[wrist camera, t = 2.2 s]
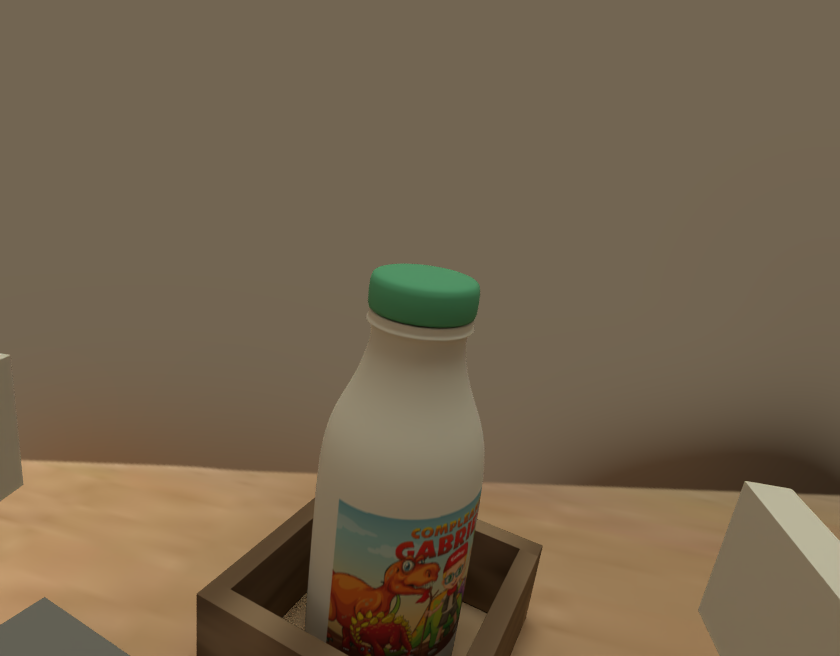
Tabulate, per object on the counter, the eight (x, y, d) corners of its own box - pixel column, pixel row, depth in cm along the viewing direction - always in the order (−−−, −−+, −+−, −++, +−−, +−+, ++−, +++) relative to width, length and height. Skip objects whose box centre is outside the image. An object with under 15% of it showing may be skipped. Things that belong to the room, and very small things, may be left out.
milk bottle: (270, 664, 27) (291, 267, 21) (355, 569, 34) (391, 246, 28) (409, 749, 24) (481, 315, 18) (472, 627, 31) (541, 279, 25)
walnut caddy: (526, 616, 32) (542, 545, 31) (435, 837, 21) (454, 744, 20) (345, 533, 37) (351, 467, 36) (196, 678, 26) (196, 593, 25)
